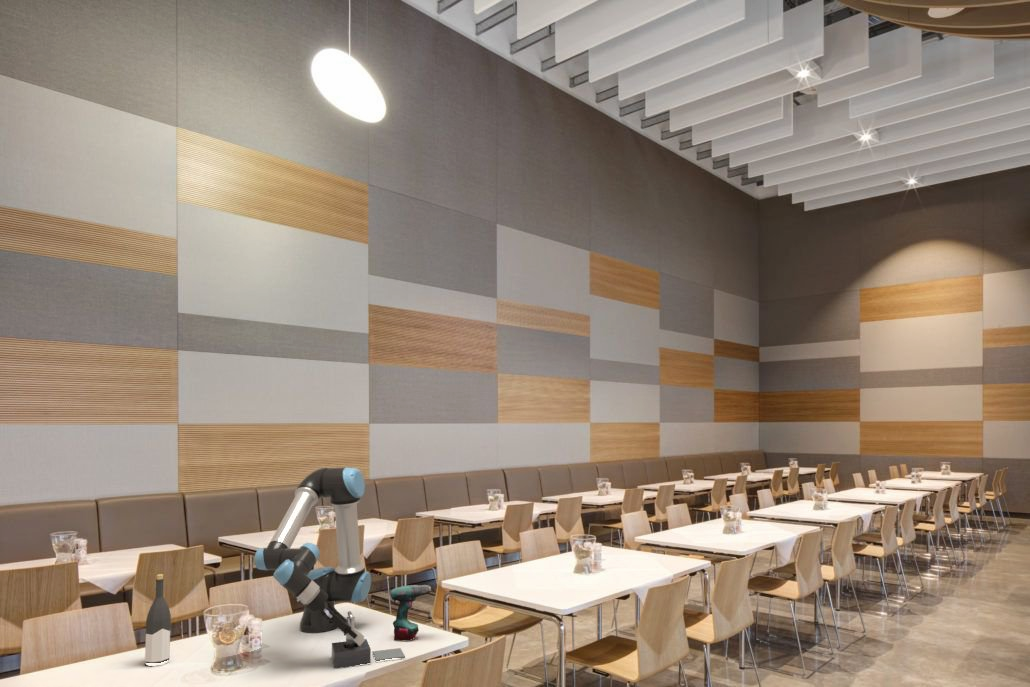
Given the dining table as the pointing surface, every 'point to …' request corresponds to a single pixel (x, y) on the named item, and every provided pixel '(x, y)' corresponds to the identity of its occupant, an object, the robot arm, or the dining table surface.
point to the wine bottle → (158, 627)
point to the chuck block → (350, 654)
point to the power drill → (406, 610)
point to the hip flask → (351, 622)
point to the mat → (388, 654)
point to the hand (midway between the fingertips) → (361, 641)
